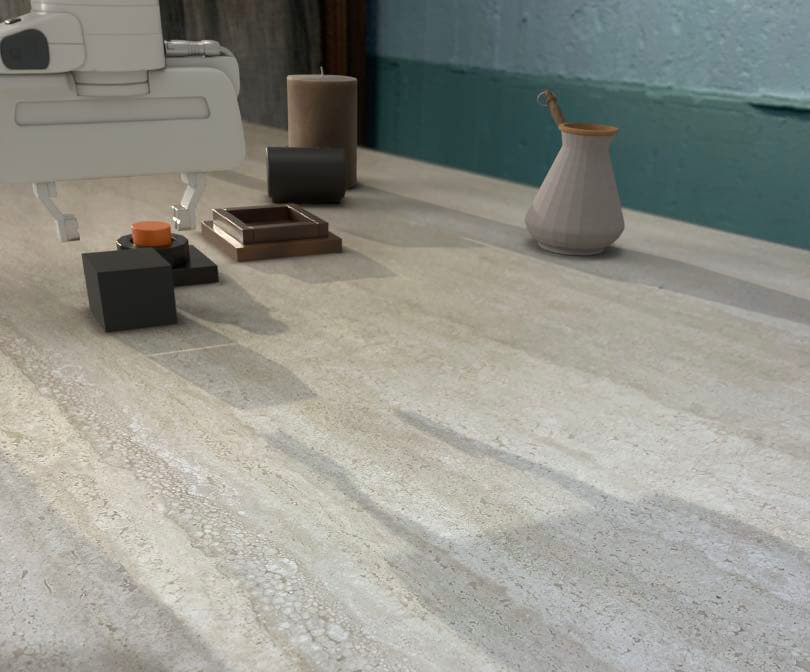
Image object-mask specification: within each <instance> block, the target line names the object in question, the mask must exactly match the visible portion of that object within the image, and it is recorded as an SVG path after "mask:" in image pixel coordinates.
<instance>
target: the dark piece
mask: <svg viewBox="0 0 810 672" xmlns="http://www.w3.org/2000/svg"><path fill="white" fill-rule="evenodd" d="M171 237H172V243H171V244H167V245H161V246H140V245H135V244H133V237H132V233H129V234H127V235H122V236H120V237H118V238H117V239H116V240H115V245H116V250H127V249H138V248H150V247H152V248H153V249H154V250H155V251H157V252H158V253H159V254H160V255H161V256H162V257H163V258H164V259H165V260H166V261H167V262H168V263H169V264H170V265H171V266H172V273H173V283H174V288H178V287H187V286H188V287H189V286H197V285H199V286H200V285H208V284H215V283H220V278H219V265H218V264H217V263H215V262H214V261H213V260H212V259H211V258H209V257H208V256H207V255H206V254H205V253H203V251H201V250H200V249H198V248H197V247H196V246H195V245H193V244H190V243H189V239H188V238H187V237H186V236H184V235H183V234H178V233H175V232H171Z"/></svg>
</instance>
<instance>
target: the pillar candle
mask: <svg viewBox="0 0 810 672" xmlns="http://www.w3.org/2000/svg"><path fill="white" fill-rule="evenodd" d="M320 71H321V74H291V75H289V74H288V75H287V76H286V88H287V89H286V90H287V120H288V121H287V123H288V125H287V126H288V127H287V128H288V131H287V132H288V147H308V148H317V147H318V146H319V147H320V148H327V147H329V148H343V149H344V152H345V158H346V191H347V190H350V189H352V188H354V187H357V184H358V179H357V178H358V177H357V176H358V171H357V170H358V169H357V167H358V79H357V78H356V77H352V76H347V75H339V74H338V75H337V74H336V75H335V74H324V68H323V66H320Z"/></svg>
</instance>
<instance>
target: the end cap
mask: <svg viewBox="0 0 810 672" xmlns="http://www.w3.org/2000/svg"><path fill="white" fill-rule="evenodd" d="M265 161H266V189H267V197H268V199H270V200H271V203H311V204H312V203H313V204H315V203H316V204H317V203H319V204H321V203H323V204H324V203H327V204H328V203H329V204H331V203H332V204H339V203H341V201H342V199H344V198H345V196H346V193H347V190H346V158H345V152H344V149H343V148H329V147H327V148H320V147H319V146H318V147H317V148H308V147H289V145H286V146H279V145H275V146H266V147H265Z"/></svg>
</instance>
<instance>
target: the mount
mask: <svg viewBox="0 0 810 672" xmlns="http://www.w3.org/2000/svg"><path fill="white" fill-rule="evenodd" d="M200 228H201V229H200V230H201V235H202V236H203V237H205V238H206V239H207V240H208V241H210V242H211V243H212V244H213V245H214V246H216V247H217V248H219V249H220V250H221V251H222V252H224V253H225V254H226V255H228V256H229V257H231V258H232V259H233V260H234V261H235V262H237V263H242V262H252V261H253V262H254V261H262V260H273V259H283V258H292V257H293V258H295V257H304V256H315V255H323V254H325V255H326V254H341V253H343V238H342V237H340V236H338V235H337V234H335V233H333V232H331V231H329V230H330V229H329V228H330V227H329V222H328V221H326V220H325V219H322V218H321V217H319V216H317V215H315V214H313V213H312V212H310V211H308V210H306V209H304V208H303V207H301V206H299V205H298V204H295V202H290V203H279V204H264V205H263V204H262V205H249V206H235V207H224V208H212V220H202V221H200Z"/></svg>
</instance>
